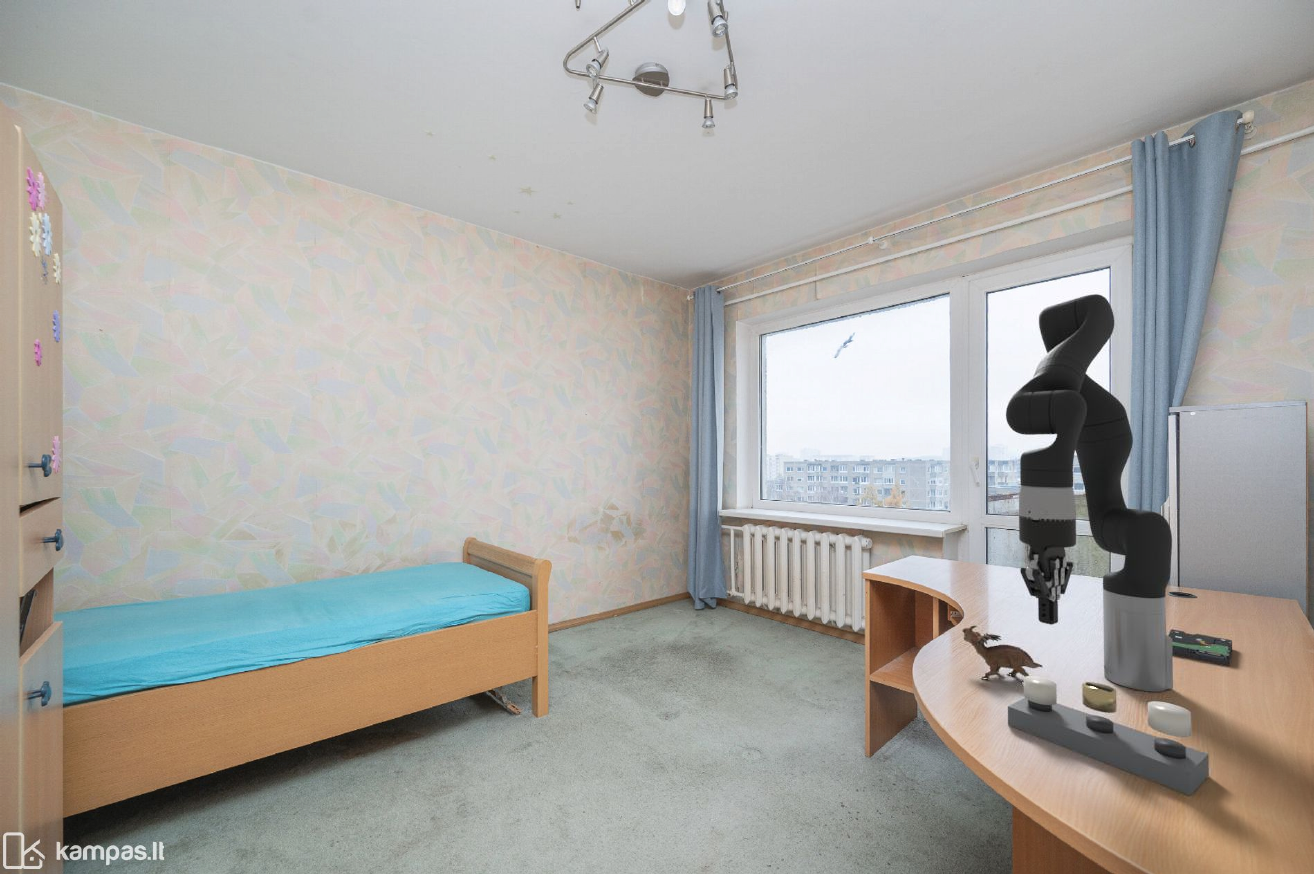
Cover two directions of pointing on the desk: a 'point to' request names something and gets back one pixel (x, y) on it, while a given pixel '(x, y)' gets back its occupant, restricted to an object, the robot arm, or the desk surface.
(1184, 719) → the cream knob
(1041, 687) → the cream knob
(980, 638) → the dinosaur figurine
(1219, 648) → the disk drive
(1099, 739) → the control strip
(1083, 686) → the brass dial
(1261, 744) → the desk surface
